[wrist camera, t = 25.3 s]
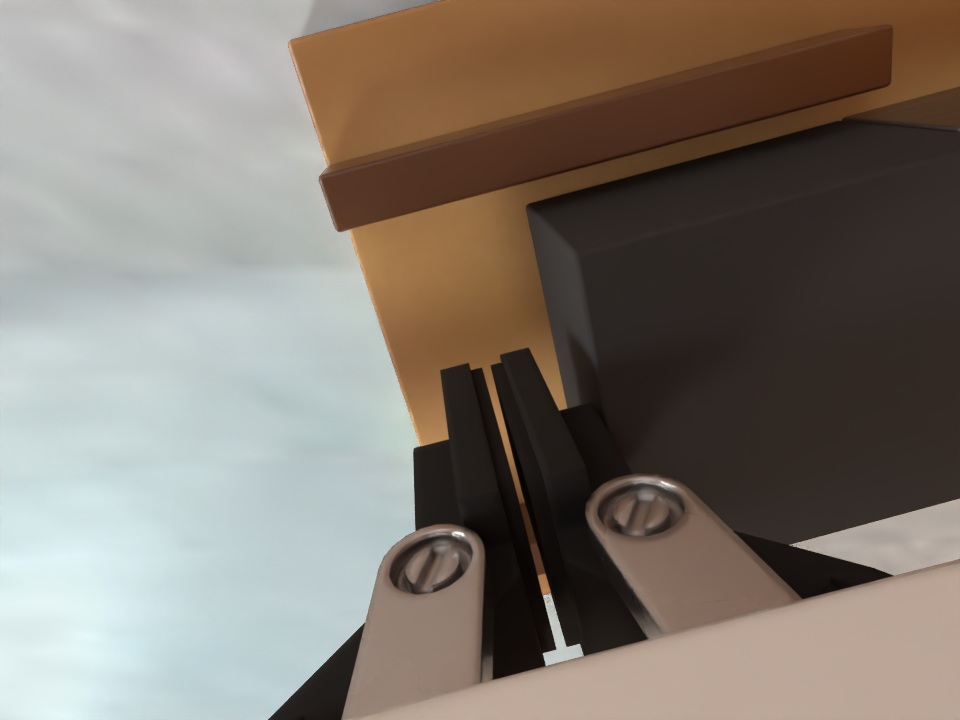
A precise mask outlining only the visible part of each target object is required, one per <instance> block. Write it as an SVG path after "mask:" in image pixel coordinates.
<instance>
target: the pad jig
mask: <svg viewBox="0 0 960 720" xmlns="http://www.w3.org/2000/svg"><path fill="white" fill-rule="evenodd" d="M288 48H289V51H290V54H291V57H292V60H293V63H294V66H295V69H296V72H297V75H298V78H299V81H300V84H301V87H302V91H303V94H304V97H305V100H306V103H307V106H308V109H309V112H310V115H311V118H312V121H313V124H314V127H315V130H316V133H317V136H318V139H319V142H320V145H321V148H322V151H323V154H324V157H325V160H326V163H327V166H328V167H327V168H326V169H325V170H324V172H323V173H322V174H321V175H320V176H319V182H320V185H321V188H322V191H323V194H324V197H325V200H326V203H327V206H328V209H329V212H330V215H331V218H332V221H333V224H334V226H335V229H336V230H337V231H338V232H343V231H346V230H349V233H350V236H351V239H352V242H353V245H354V248H355V251H356V254H357V257H358V260H359V263H360V266H361V269H362V272H363V275H364V278H365V281H366V284H367V287H368V290H369V293H370V296H371V300H372V303H373V306H374V309H375V312H376V315H377V318H378V321H379V324H380V327H381V330H382V333H383V336H384V339H385V342H386V345H387V348H388V351H389V354H390V357H391V360H392V363H393V366H394V369H395V372H396V375H397V378H398V381H399V384H400V387H401V390H402V393H403V396H404V399H405V402H406V406H407V409H408V412H409V415H410V418H411V421H412V424H413V427H414V430H415V433H416V436H417V439H418V442H419V445H420V446H424V445H428V444H432V443H436V442H440V441H443V440H447V439H449V436H448V429H447V421H446V413H445V405H444V398H443V390H442V382H441V374H440V370H442V369H446V368H450V367H454V366H458V365H462V364H465V363H469V365H470V369H471V370H473V369H477V368H481V367H482V369H483V372H484V376H485V380H486V383H487V387H488V390H489V394H490V398H491V401H492V405H493V408H494V412H495V416H496V419H497V423H498V426H499V430H500V434H501V437H502V441H503V444H504V448H505V452H506V455H507V459H508V462H509V466H510V470H511V473H512V477H513V481H514V484H515V488H516V492H517V496H518V500H519V503H520V507H521V511H522V515H523V519H524V523H525V527H526V531H527V535H528V539H529V543H530V547H531V551H532V555H533V559H534V563H535V567H536V571H537V575H538V579H539V583H540V587H541V591H542V595H544V594H548V593H551V591H550V588H549V584H548V581H547V578H546V574H545V571H544V567H543V564H542V560H541V557H540V554H539V550H538V547H537V543H536V540H535V536H534V533H533V530H532V526H531V523H530V519H529V516H528V512H527V509H526V506H525V502H524V498H523V495H522V491H521V487H520V483H519V479H518V475H517V471H516V467H515V463H514V459H513V455H512V451H511V447H510V443H509V439H508V435H507V431H506V427H505V423H504V419H503V415H502V411H501V407H500V403H499V398H498V394H497V390H496V386H495V382H494V378H493V374H492V370H491V365H493V364H497V363H501V359H500V355H501V354H504V353H508V352H512V351H516V350H520V349H524V348H528V347H529V349H530V351H531V353H532V355H533V357H534V359H535V361H536V363H537V365H538V368H539V370H540V372H541V374H542V376H543V378H544V380H545V382H546V384H547V386H548V388H549V390H550V393H551V395H552V397H553V399H554V401H555V403H556V405H557V407H558V409H559V410H563V409H567V404H566V400H565V395H564V390H563V385H562V380H561V376H560V371H559V366H558V361H557V356H556V352H555V347H554V342H553V337H552V332H551V328H550V323H549V318H548V313H547V308H546V304H545V299H544V294H543V289H542V284H541V280H540V275H539V270H538V265H537V260H536V256H535V251H534V246H533V241H532V236H531V232H530V227H529V222H528V217H527V212H526V205H528V204H529V203H533V202H536V201H540V200H544V199H548V198H551V197H555V196H559V195H563V194H566V193H570V192H574V191H578V190H581V189H585V188H589V187H592V186H596V185H600V184H604V183H607V182H611V181H615V180H619V179H622V178H626V177H630V176H634V175H637V174H641V173H645V172H649V171H652V170H656V169H660V168H664V167H667V166H671V165H675V164H678V163H682V162H686V161H690V160H693V159H697V158H701V157H705V156H708V155H712V154H716V153H720V152H723V151H727V150H731V149H735V148H738V147H742V146H746V145H750V144H753V143H757V142H761V141H764V140H768V139H772V138H776V137H779V136H783V135H787V134H791V133H794V132H798V131H802V130H806V129H809V128H813V127H817V126H821V125H824V124H828V123H832V122H836V121H843V122H854V123H864V124H875V125H885V126H896V127H906V128H917V129H928V130H938V131H949V132H959V133H960V0H440V1H436V2H432V3H428V4H425V5H421V6H417V7H413V8H409V9H406V10H402V11H398V12H394V13H391V14H387V15H383V16H379V17H375V18H372V19H368V20H364V21H360V22H356V23H353V24H349V25H345V26H341V27H337V28H334V29H330V30H326V31H322V32H319V33H315V34H311V35H307V36H303V37H300V38H296V39H292V40H290V41H289V42H288Z"/></svg>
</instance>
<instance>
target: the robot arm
mask: <svg viewBox="0 0 960 720" xmlns="http://www.w3.org/2000/svg"><path fill="white" fill-rule="evenodd" d="M500 359H501V363H497V364H493V365H491V370H492V374H493V378H494V382H495V386H496V390H497V394H498V398H499V403H500V407H501V411H502V415H503V419H504V423H505V427H506V431H507V435H508V439H509V443H510V447H511V451H512V455H513V459H514V463H515V467H516V471H517V475H518V479H519V483H520V487H521V491H522V495H523V498H524V502H525V506H526V509H527V512H528V516H529V519H530V523H531V526H532V530H533V533H534V536H535V540H536V543H537V547H538V550H539V554H540V557H541V560H542V564H543V567H544V571H545V574H546V578H547V581H548V584H549V588H550V591H551V595H552V598H553V602H554V605H555V608H556V612H557V615H558V619H559V622H560V626H561V629H562V633H563V636H564V639H565V643H566V646H567V647H569V646H572V645H576V644H580V645H581V648H582V651H583V654H584V656H582V657H579V658H575V659H571V660H567V661H563V662H560V663H556V664H552V665H548V666H546V665H545V661H544V657H543V653H545V652H549V651H553V650H556V646H555V642H554V638H553V634H552V630H551V626H550V622H549V618H548V615H547V611H546V607H545V603H544V599H543V595H542V591H541V587H540V583H539V579H538V575H537V571H536V567H535V563H534V559H533V555H532V551H531V547H530V543H529V539H528V535H527V531H526V527H525V523H524V519H523V515H522V511H521V507H520V503H519V500H518V496H517V492H516V488H515V484H514V481H513V477H512V473H511V470H510V466H509V462H508V459H507V455H506V452H505V448H504V444H503V441H502V437H501V434H500V430H499V426H498V423H497V419H496V416H495V412H494V408H493V405H492V401H491V398H490V394H489V390H488V387H487V383H486V380H485V376H484V372H483V369H482V367H481V368H477V369H473V370H471V369H470V365H469V363H465V364H462V365H458V366H454V367H450V368H446V369H442V370H440V374H441V382H442V390H443V398H444V405H445V413H446V421H447V429H448V436H449V439H447V440H443V441H440V442H436V443H432V444H428V445H424V446H420V447H416V448H414V452H413V457H414V492H415V527H416V531H415V532H413V533H411V534H409V535H407V536H405V537H404V538H403V539H401V540H400V541H399V542H397V543H396V544H395V545H393V547H392V548H391V549H390V550H389V551H388V553H387V554H386V555H385V556H384V558H383V560H382V562H381V565H380V567H379V569H378V573H377V577H376V581H375V585H374V589H373V593H372V598H371V602H370V606H369V610H368V614H367V618H366V622H365V623H364V624H363V625H362V626H361V627H360V628H359V629H358V630H357V631H356V632H355V633H354V634H353V635H352V636H351V637H350V638H349V639H348V640H347V641H346V642H345V643H344V644H343V645H342V646H341V647H340V648H339V649H338V650H337V651H336V652H335V653H334V654H333V655H332V656H331V657H330V658H329V659H328V660H327V661H326V662H325V663H324V664H323V665H322V666H321V667H320V668H319V669H318V670H317V671H316V672H315V673H314V674H313V675H312V676H311V677H310V678H309V679H308V680H307V681H306V682H305V683H304V684H303V685H302V686H301V687H300V688H299V689H298V690H297V691H296V692H295V693H294V694H293V695H292V696H291V697H290V698H289V699H288V700H287V701H286V702H285V703H284V704H283V705H282V706H281V707H280V708H279V709H278V710H277V711H276V712H275V713H274V714H273V715H272V716H271V717H270V718H269V719H268V720H960V559H958V560H954V561H951V562H947V563H943V564H939V565H935V566H931V567H927V568H923V569H919V570H915V571H912V572H908V573H904V574H900V575H896V576H893V575H891V574H888V573H885V572H883V571H880V570H877V569H875V568H871V567H867V566H864V565H860V564H856V563H853V562H849V561H845V560H841V559H838V558H834V557H830V556H827V555H823V554H819V553H815V552H812V551H808V550H804V549H801V548H797V547H793V546H790V545H786V544H782V543H778V542H775V541H771V540H767V539H764V538H760V537H756V536H752V535H749V534H745V533H741V532H738V531H734V530H731V529H730V528H729V527H728V526H727V525H726V524H725V523H724V522H723V521H722V520H721V519H720V518H719V517H718V516H717V515H716V514H715V513H714V512H713V511H712V510H711V509H710V508H709V507H708V506H707V505H706V504H705V503H704V502H703V501H702V500H701V499H700V498H699V497H698V496H697V495H696V494H694V493H693V492H692V491H691V490H690V489H689V488H688V487H687V486H685V485H684V484H682V483H681V482H680V481H678V480H676V479H673V478H670V477H667V476H664V475H659V474H651V473H639V474H633V473H632V471H631V470H630V468H629V466H628V464H627V463H626V461H625V459H624V458H623V456H622V454H621V453H620V451H619V449H618V448H617V446H616V444H615V442H614V441H613V439H612V437H611V436H610V434H609V432H608V431H607V429H606V427H605V425H604V424H603V422H602V420H601V419H600V417H599V415H598V414H597V412H596V410H595V409H594V407H593V406H592V404H591V403H586V404H582V405H578V406H575V407H571V408H567V409H563V410H559V409H558V407H557V405H556V403H555V401H554V399H553V397H552V395H551V393H550V390H549V388H548V386H547V384H546V382H545V380H544V378H543V376H542V374H541V372H540V370H539V368H538V365H537V363H536V361H535V359H534V357H533V355H532V353H531V351H530V349H529V347H528V348H524V349H520V350H516V351H512V352H508V353H504V354H501V355H500Z"/></svg>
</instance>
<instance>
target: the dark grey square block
mask: <svg viewBox="0 0 960 720" xmlns="http://www.w3.org/2000/svg"><path fill="white" fill-rule="evenodd" d="M526 212H527V217H528V222H529V227H530V232H531V236H532V241H533V246H534V251H535V256H536V260H537V265H538V270H539V275H540V280H541V284H542V289H543V294H544V299H545V304H546V308H547V313H548V318H549V323H550V328H551V332H552V337H553V342H554V347H555V352H556V356H557V361H558V366H559V371H560V376H561V380H562V385H563V390H564V395H565V400H566V404H567V408H571V407H575V406H578V405H582V404H586V403H591V404H592V406H593V407H594V409H595V410H596V412H597V414H598V415H599V417H600V419H601V420H602V422H603V424H604V425H605V427H606V429H607V431H608V432H609V434H610V436H611V437H612V439H613V441H614V442H615V444H616V446H617V448H618V449H619V451H620V453H621V454H622V456H623V458H624V459H625V461H626V463H627V464H628V466H629V468H630V470H631V471H632V473H633V474H639V473H651V474H659V475H664V476H667V477H670V478H673V479H676V480H678V481H680V482H681V483H682V484H684V485H685V486H687V487H688V488H689V489H690V490H691V491H692V492H693V493H694V494H696V495H697V496H698V497H699V498H700V499H701V500H702V501H703V502H704V503H705V504H706V505H707V506H708V507H709V508H710V509H711V510H712V511H713V512H714V513H715V514H716V515H717V516H718V517H719V518H720V519H721V520H722V521H723V522H724V523H725V524H726V525H727V526H728V527H729V528H730V529H731V530H734V531H738V532H741V533H745V534H749V535H752V536H756V537H760V538H764V539H767V540H771V541H775V542H778V543H782V544H786V545H790V544H794V543H797V542H801V541H805V540H808V539H812V538H816V537H819V536H823V535H827V534H830V533H834V532H838V531H841V530H845V529H849V528H853V527H856V526H860V525H864V524H867V523H871V522H875V521H878V520H882V519H886V518H889V517H893V516H897V515H900V514H904V513H908V512H911V511H915V510H919V509H923V508H926V507H930V506H934V505H937V504H941V503H945V502H948V501H952V500H956V499H959V498H960V133H959V132H949V131H938V130H928V129H917V128H906V127H896V126H885V125H875V124H864V123H854V122H843V121H836V122H832V123H828V124H824V125H821V126H817V127H813V128H809V129H806V130H802V131H798V132H794V133H791V134H787V135H783V136H779V137H776V138H772V139H768V140H764V141H761V142H757V143H753V144H750V145H746V146H742V147H738V148H735V149H731V150H727V151H723V152H720V153H716V154H712V155H708V156H705V157H701V158H697V159H693V160H690V161H686V162H682V163H678V164H675V165H671V166H667V167H664V168H660V169H656V170H652V171H649V172H645V173H641V174H637V175H634V176H630V177H626V178H622V179H619V180H615V181H611V182H607V183H604V184H600V185H596V186H592V187H589V188H585V189H581V190H578V191H574V192H570V193H566V194H563V195H559V196H555V197H551V198H548V199H544V200H540V201H536V202H533V203H529V204H528V205H526Z"/></svg>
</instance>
